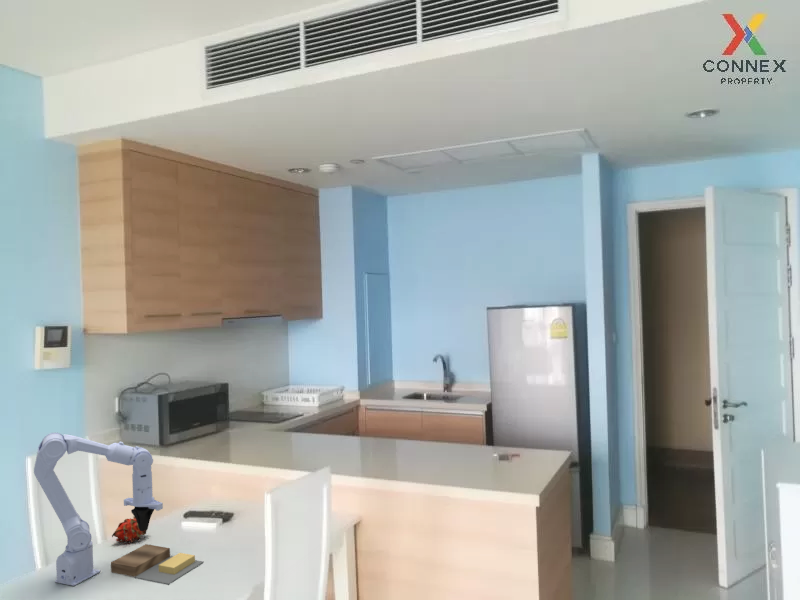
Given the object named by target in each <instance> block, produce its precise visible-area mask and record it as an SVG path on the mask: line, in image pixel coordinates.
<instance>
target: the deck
mask: <svg viewBox="0 0 800 600" xmlns="http://www.w3.org/2000/svg"><path fill="white" fill-rule="evenodd" d="M170 556H171V549H170V548H169V547H165V546H159V545H153V544H148V543H145V544H143V545H141V546H139V547H138V548H136V549H133V550H132V551H130V552H129V553H126V554H125V555H122V556H121V557H118V558H116V559H115V560H113V561H111V562H110V572H111V573H114V574H117V575H123V576H129V577H133V578H135V576H137V575H139V574H141V573H142V572H144V571H146V570H148V569H149V568H151V567H153V566H155V565H156V564H158V563H160V562H161V561H163V560H165V559H167V558H168V557H170Z"/></svg>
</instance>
